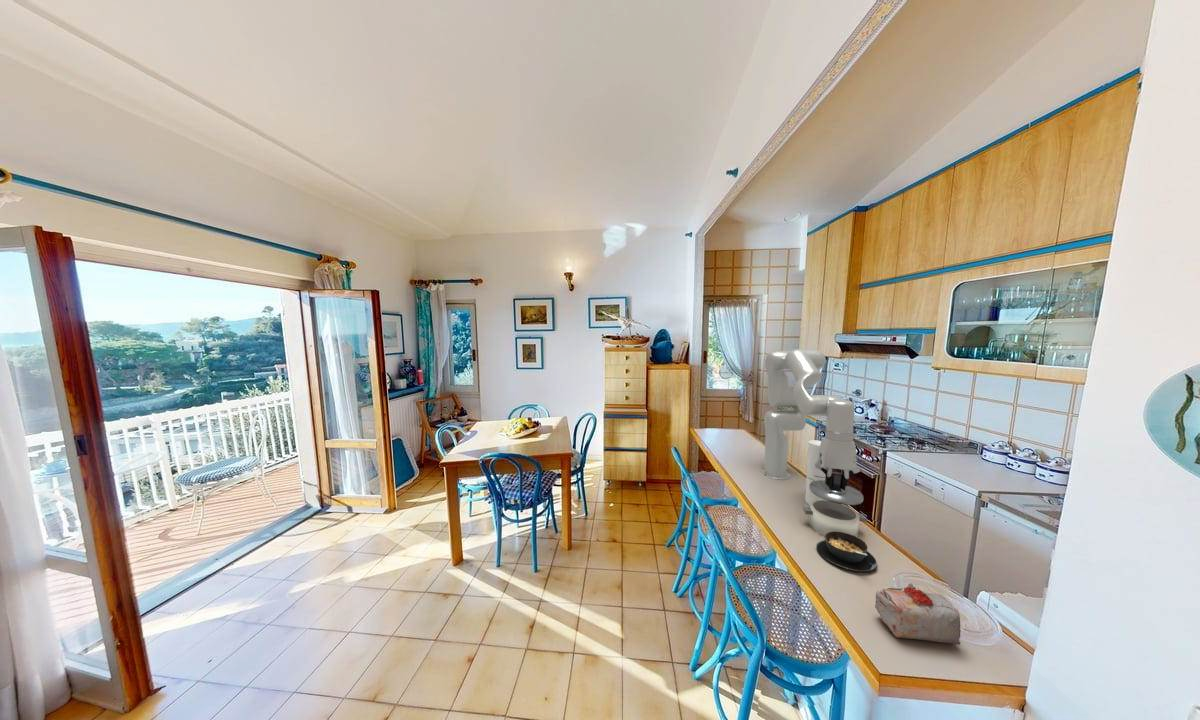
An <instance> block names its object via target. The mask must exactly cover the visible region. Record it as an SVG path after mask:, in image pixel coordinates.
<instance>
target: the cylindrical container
mask: <svg viewBox="0 0 1200 720" xmlns="http://www.w3.org/2000/svg"><path fill="white" fill-rule="evenodd" d="M807 442H808V447H807V462H806V463H807V465H806V476H805V477H806V480H805V496H804V497H805V499H804V500H805V503H806V504H808V505H810V504H811V502H812V501H815V500H824V499H822V498H820V497H818V496H816V495H815V494H813V493H812V492H811V491H810V489H809V486H810V483H811V482H813V481H819V480H823V481H825V476H826V474H825V473H824V472H823V471H821V470H819V469H818V468H816V467H815V466H814V464H815V463H816V462H817V461H818V456H819V449H820V444H821V440H817V439H816V440H815V439H813V440H812V439H811V440H808V441H807ZM821 466H822V464H821ZM822 467H823V466H822ZM824 468H825V467H824Z"/></svg>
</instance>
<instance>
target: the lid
mask: <svg viewBox="0 0 1200 720" xmlns="http://www.w3.org/2000/svg"><path fill="white" fill-rule="evenodd" d="M831 477H832V478H833V482H832V488H831V489H830V488H829V487H828V486H827V485H826V484H825V481H823V480H819V481H813V482H811V483H810V486H809V489H810V491H811V492H812V493H813V494H815V495H816V496H818V497H820V498H822V499H824V500H827V501H830V502H834V503H838V504H843V505H846V506H857V505H861V504H862V503H863V502H864V495H863V494H862V492H861V491H859V490H858V489H856V488H855V487H851V486H849V485H847V487H845V490H842V489H841V486H842V472H838V471H832V473H831Z"/></svg>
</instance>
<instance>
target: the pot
mask: <svg viewBox="0 0 1200 720" xmlns="http://www.w3.org/2000/svg"><path fill="white" fill-rule="evenodd" d="M802 510H803V511H802V512H804V514H806V515H809V520H808V521H809V525H810V528H811V529H812V530H814V531H815V532H816V533H818V535H819V534H820V535H821V536H824V537H825V535H826V534H827V533H829V532H834V531H836V532H843V533H847V534H850V535H853V536H856V537H857V538H859V527H860V522H863V523H867V522H868V518H867V516H866V515H865V514H863V513H858V512H857V511H856V510H854V509H853V508H851V507H850V506H849V505H844V504H838V503H834V502H830V501H827V500H815V501H812V502H811V504H809V506H804V505H803V506H802Z"/></svg>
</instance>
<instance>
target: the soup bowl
mask: <svg viewBox="0 0 1200 720" xmlns="http://www.w3.org/2000/svg"><path fill="white" fill-rule="evenodd" d="M816 550H817V552H818V553H819V554H820V555H821V556H822V557H823V559H825V560H826V561H828V562H830V563H831V564H833V565H836V566H837V567H839V568H843V569H846V570H849V571H855V572H858V573H860V572H869V571H872V570H873V571H874V570H875V569H876V568H877V567H878V562H877V559H876V558H875V556H874V555H873V554H872V553H871V552H869V551H868V545H867V543H866V542H865V541H864V540H862V539H861V538H859V537H858V538H857V537H856V536H853V535H850V534H847V533H843V532H836V531H834V532H829V533H827V534H826V535H825V536H824V539H823V540H819V541H818V542H817V543H816Z"/></svg>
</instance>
